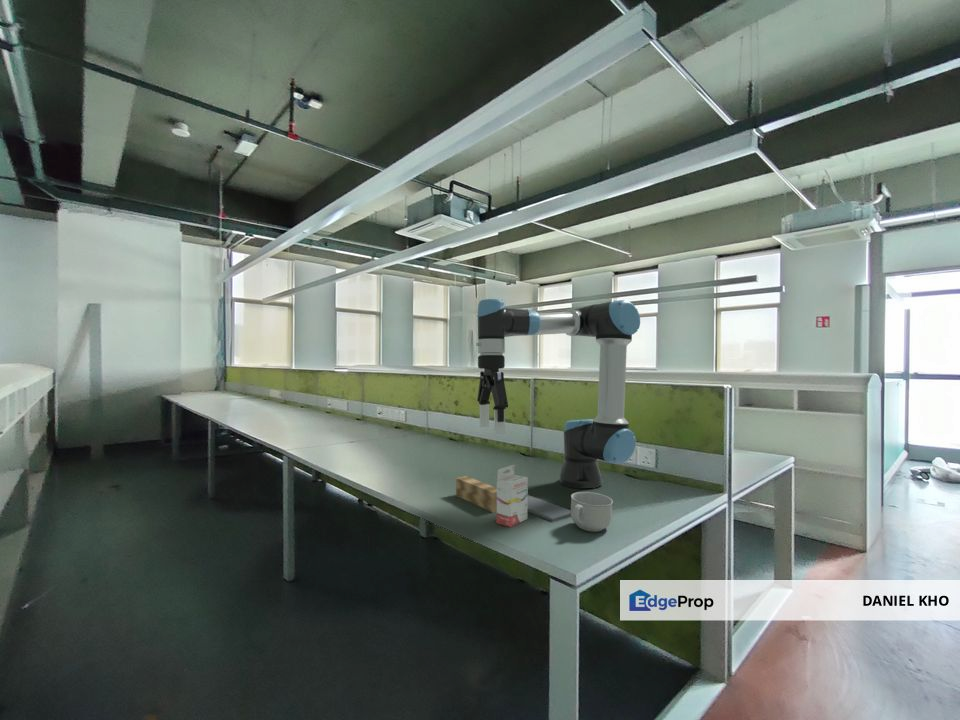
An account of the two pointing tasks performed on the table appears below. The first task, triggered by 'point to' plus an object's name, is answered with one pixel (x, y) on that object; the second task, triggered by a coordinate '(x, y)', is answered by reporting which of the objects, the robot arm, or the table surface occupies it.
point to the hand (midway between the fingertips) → (491, 430)
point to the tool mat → (546, 509)
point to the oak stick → (477, 493)
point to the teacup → (591, 510)
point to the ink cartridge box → (511, 497)
